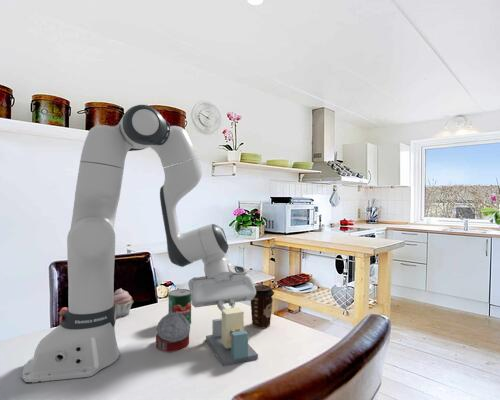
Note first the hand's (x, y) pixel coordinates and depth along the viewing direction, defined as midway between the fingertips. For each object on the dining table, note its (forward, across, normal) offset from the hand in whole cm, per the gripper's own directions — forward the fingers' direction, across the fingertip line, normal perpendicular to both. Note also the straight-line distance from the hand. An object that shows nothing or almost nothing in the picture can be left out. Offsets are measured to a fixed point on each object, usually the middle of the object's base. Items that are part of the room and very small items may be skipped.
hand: (229, 315), depth 95 cm
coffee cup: (-1, +16, +15) cm, 22 cm away
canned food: (+1, -15, +13) cm, 20 cm away
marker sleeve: (+7, 0, +3) cm, 8 cm away
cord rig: (+7, 0, +6) cm, 9 cm away
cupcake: (-22, -29, +36) cm, 51 cm away
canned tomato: (-10, -10, +24) cm, 27 cm away
